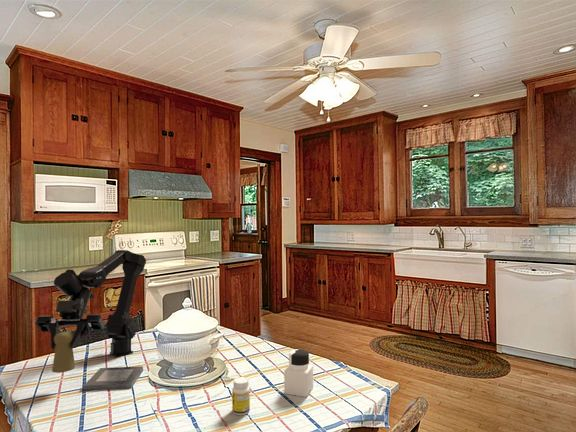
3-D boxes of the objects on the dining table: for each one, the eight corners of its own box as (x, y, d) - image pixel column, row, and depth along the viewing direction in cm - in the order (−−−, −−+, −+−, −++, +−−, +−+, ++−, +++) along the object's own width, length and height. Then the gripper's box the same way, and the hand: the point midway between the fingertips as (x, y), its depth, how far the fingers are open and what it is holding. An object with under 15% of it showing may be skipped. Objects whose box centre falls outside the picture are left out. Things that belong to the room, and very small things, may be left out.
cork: (79, 365, 117) (79, 329, 117) (66, 373, 111) (66, 335, 111) (61, 364, 118) (61, 329, 118) (47, 372, 112) (47, 335, 112)
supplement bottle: (232, 407, 104) (232, 376, 104) (249, 406, 105) (250, 376, 105) (231, 416, 99) (231, 384, 100) (249, 415, 100) (249, 383, 100)
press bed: (100, 372, 128) (100, 367, 128) (143, 370, 130) (143, 365, 130) (83, 390, 114) (83, 385, 114) (131, 388, 116) (131, 382, 116)
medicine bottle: (313, 387, 117) (313, 348, 117) (306, 397, 110) (306, 356, 110) (291, 384, 119) (291, 346, 119) (283, 394, 112) (284, 353, 113)
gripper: (38, 290, 117) (17, 336, 106) (101, 288, 120) (87, 333, 109) (50, 309, 125) (32, 354, 114) (109, 307, 128) (97, 351, 116)
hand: (61, 348), depth 113 cm, fingers closed on cork, 5 cm apart
